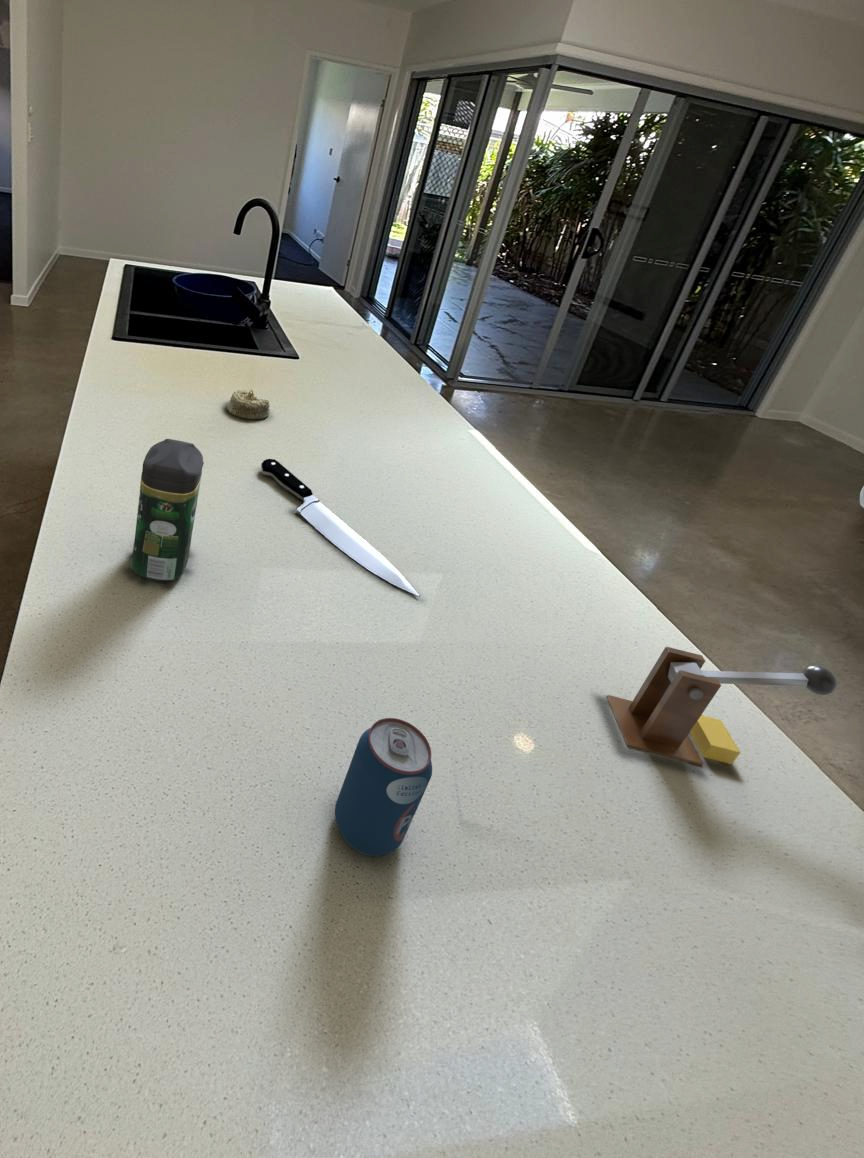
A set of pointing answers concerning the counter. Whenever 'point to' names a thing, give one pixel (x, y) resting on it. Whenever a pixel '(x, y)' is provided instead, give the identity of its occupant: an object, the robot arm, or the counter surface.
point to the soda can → (383, 786)
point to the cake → (248, 405)
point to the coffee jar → (166, 510)
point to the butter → (714, 740)
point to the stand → (666, 708)
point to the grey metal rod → (766, 677)
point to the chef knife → (335, 527)
